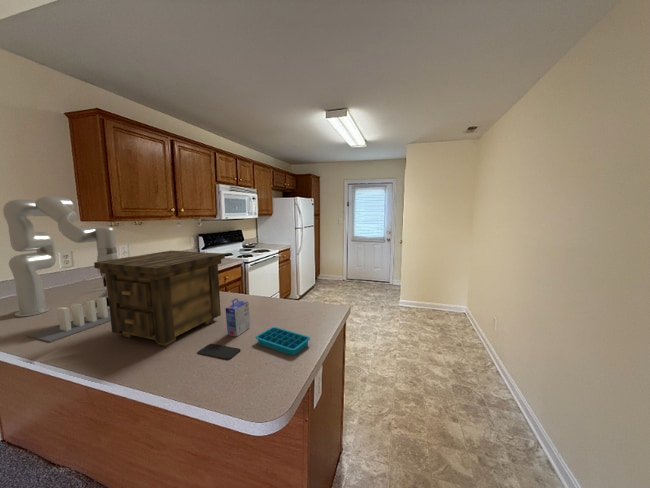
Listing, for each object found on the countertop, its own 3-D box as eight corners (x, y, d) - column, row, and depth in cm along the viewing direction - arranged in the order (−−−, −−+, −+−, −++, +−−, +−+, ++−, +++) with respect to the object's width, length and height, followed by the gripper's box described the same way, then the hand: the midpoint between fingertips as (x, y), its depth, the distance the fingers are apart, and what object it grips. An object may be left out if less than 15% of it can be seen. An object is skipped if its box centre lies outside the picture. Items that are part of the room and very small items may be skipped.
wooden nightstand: (228, 318, 130) (224, 253, 126) (163, 354, 98) (156, 268, 94) (175, 309, 142) (171, 250, 138) (102, 339, 110) (94, 262, 106)
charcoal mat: (26, 336, 112) (26, 335, 112) (110, 309, 143) (110, 308, 143) (50, 342, 107) (50, 341, 107) (132, 313, 138) (132, 312, 138)
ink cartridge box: (240, 325, 122) (239, 295, 120) (250, 327, 120) (249, 296, 118) (226, 335, 112) (224, 302, 111) (237, 337, 111) (235, 304, 109)
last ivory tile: (60, 329, 118) (57, 308, 117) (64, 327, 119) (61, 306, 118) (67, 330, 116) (64, 309, 115) (71, 329, 118) (68, 308, 117)
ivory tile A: (98, 316, 132) (95, 297, 131) (101, 315, 134) (99, 296, 132) (104, 318, 130) (102, 298, 129) (108, 316, 132) (106, 297, 131)
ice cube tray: (273, 332, 115) (273, 326, 114) (311, 344, 104) (311, 337, 104) (254, 344, 105) (253, 337, 104) (294, 358, 95) (293, 350, 94)
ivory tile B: (86, 320, 127) (83, 300, 126) (90, 319, 129) (87, 299, 128) (93, 322, 126) (90, 301, 125) (96, 320, 127) (94, 300, 126)
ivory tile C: (73, 324, 123) (71, 304, 121) (77, 323, 124) (75, 303, 123) (80, 326, 121) (77, 305, 120) (84, 324, 123) (82, 304, 121)
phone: (210, 343, 105) (242, 348, 100) (210, 345, 105) (242, 350, 100) (195, 352, 98) (229, 359, 93) (196, 354, 98) (229, 361, 93)
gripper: (87, 252, 132) (92, 287, 134) (110, 253, 126) (114, 289, 129) (104, 249, 139) (108, 283, 141) (126, 250, 134) (130, 285, 136)
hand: (111, 285), depth 135 cm, fingers closed on terracotta tile, 4 cm apart
